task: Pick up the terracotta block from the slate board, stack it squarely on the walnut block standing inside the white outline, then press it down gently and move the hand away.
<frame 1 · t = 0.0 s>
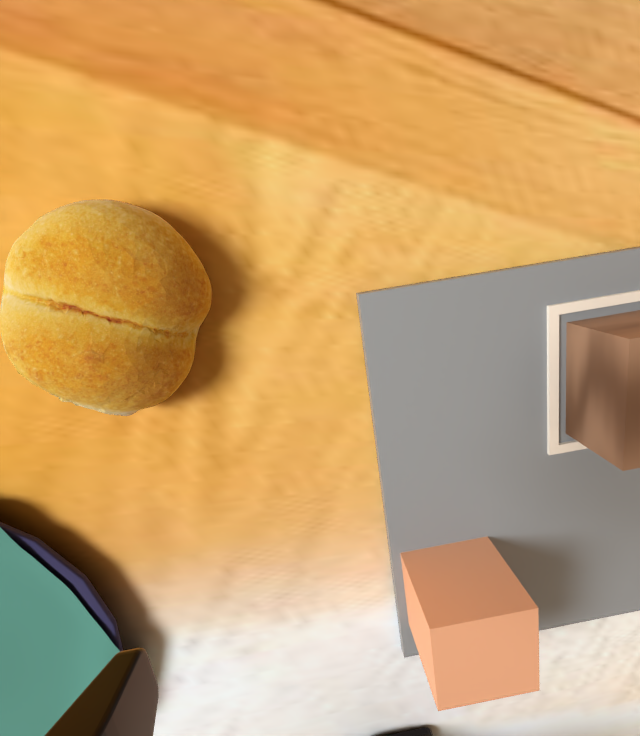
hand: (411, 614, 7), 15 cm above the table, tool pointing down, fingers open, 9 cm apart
walnut block: (622, 370, 22), point 1 cm above the table, touching slate board
terracotta block: (447, 580, 25), point 1 cm above the table, touching slate board
bread roll: (121, 309, 20), on the table
slate board: (541, 464, 24), on the table
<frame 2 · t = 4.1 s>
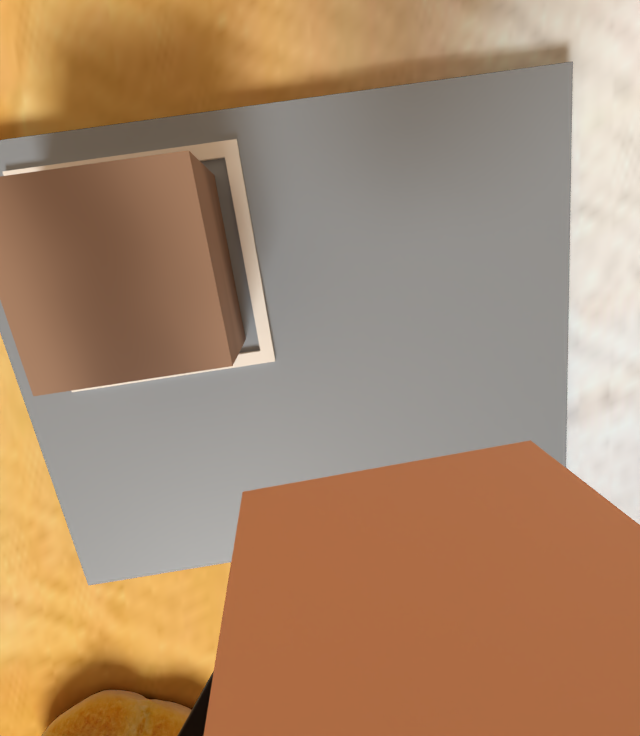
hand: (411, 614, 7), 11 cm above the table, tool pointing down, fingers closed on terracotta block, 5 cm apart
walnut block: (150, 273, 16), point 1 cm above the table, touching slate board
terracotta block: (402, 584, 8), point 11 cm above the table, touching gripper
slate board: (299, 352, 18), on the table
when the fingers open (7 cm above the table, at t = 5.8 s): terracotta block drops 1 cm, resting on walnut block.
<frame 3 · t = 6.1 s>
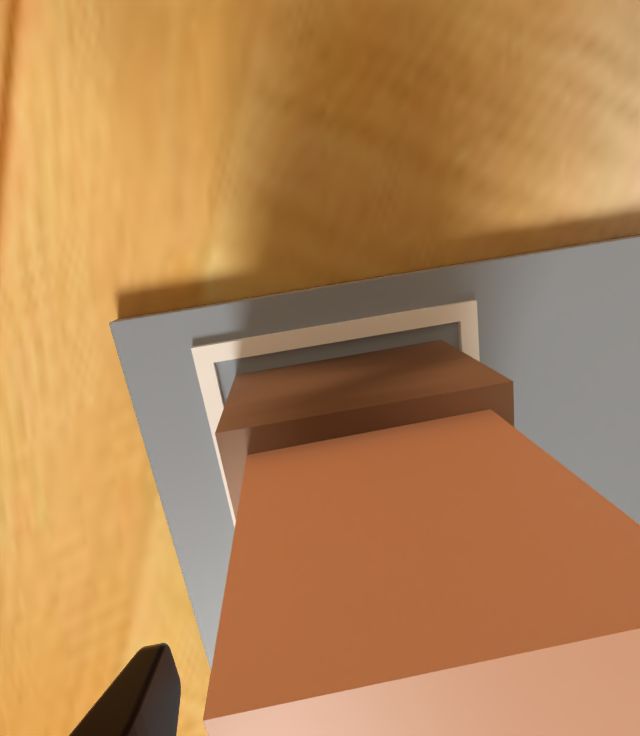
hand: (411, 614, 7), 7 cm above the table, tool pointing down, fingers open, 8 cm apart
walnut block: (353, 450, 13), point 1 cm above the table, touching slate board, terracotta block
terracotta block: (384, 536, 9), point 5 cm above the table, touching walnut block
slate board: (505, 520, 15), on the table
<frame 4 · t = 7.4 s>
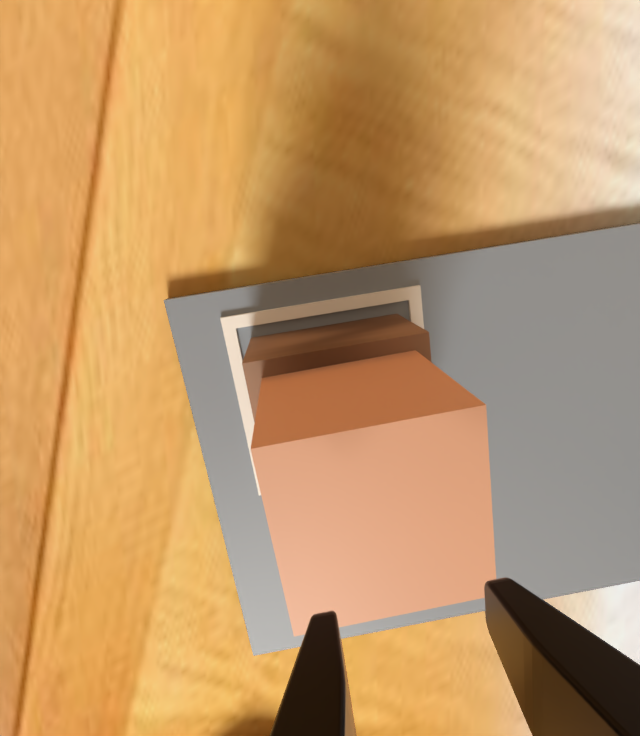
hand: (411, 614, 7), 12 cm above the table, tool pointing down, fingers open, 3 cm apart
walnut block: (334, 394, 18), point 1 cm above the table, touching slate board, terracotta block
terracotta block: (350, 434, 14), point 5 cm above the table, touching walnut block
slate board: (450, 451, 20), on the table
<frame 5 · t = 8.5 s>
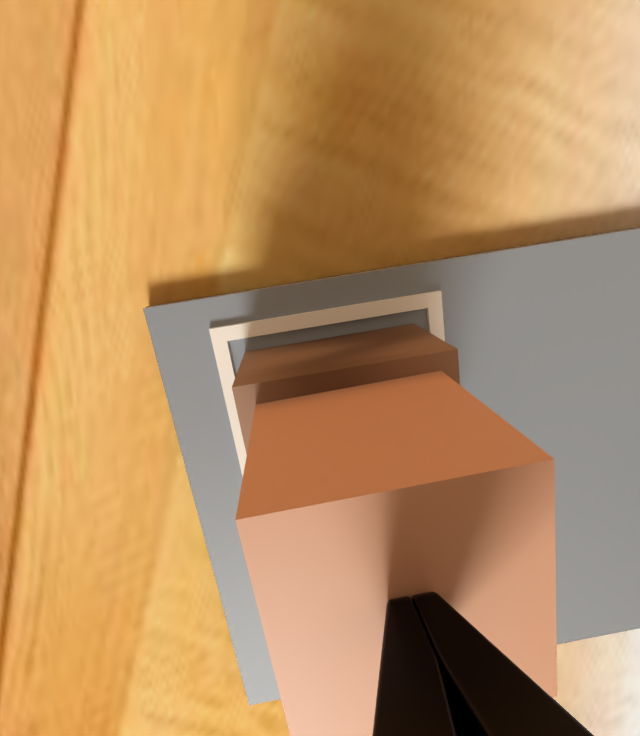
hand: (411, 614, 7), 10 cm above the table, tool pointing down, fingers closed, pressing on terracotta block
walnut block: (341, 416, 16), point 1 cm above the table, touching slate board, terracotta block
terracotta block: (361, 470, 12), point 5 cm above the table, touching gripper, walnut block
slate board: (471, 478, 18), on the table
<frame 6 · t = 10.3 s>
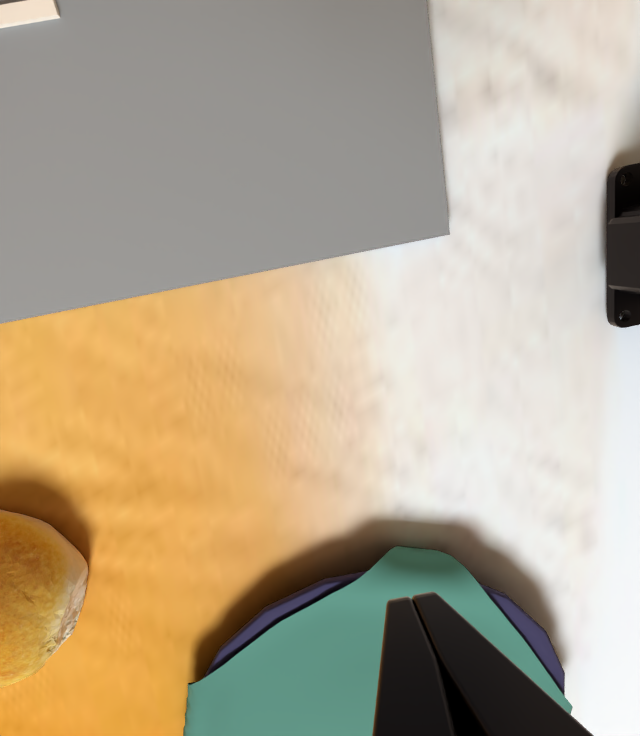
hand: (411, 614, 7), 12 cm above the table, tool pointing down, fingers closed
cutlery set: (301, 735, 25), on the table
slate board: (99, 21, 14), on the table
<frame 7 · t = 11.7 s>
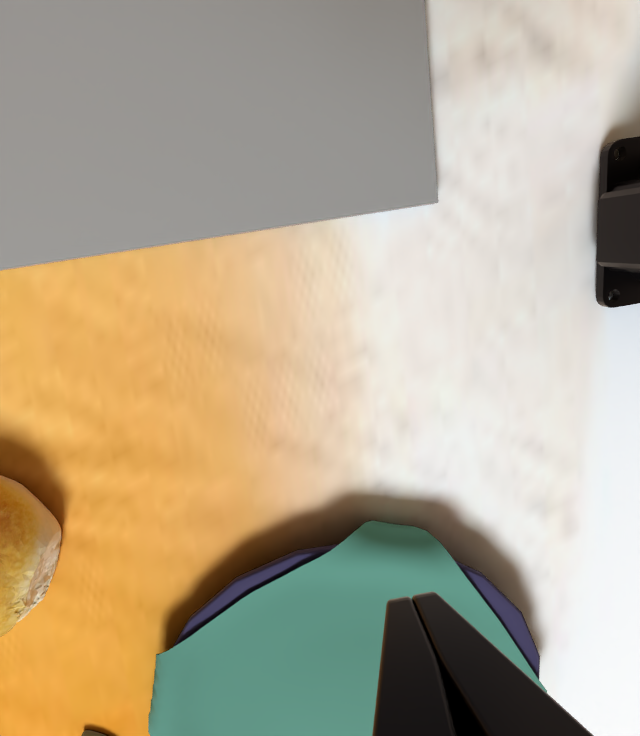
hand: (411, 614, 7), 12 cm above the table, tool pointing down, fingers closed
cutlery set: (273, 714, 25), on the table
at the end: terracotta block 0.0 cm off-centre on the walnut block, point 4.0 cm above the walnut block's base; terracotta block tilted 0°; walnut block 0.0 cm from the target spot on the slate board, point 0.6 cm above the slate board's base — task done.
